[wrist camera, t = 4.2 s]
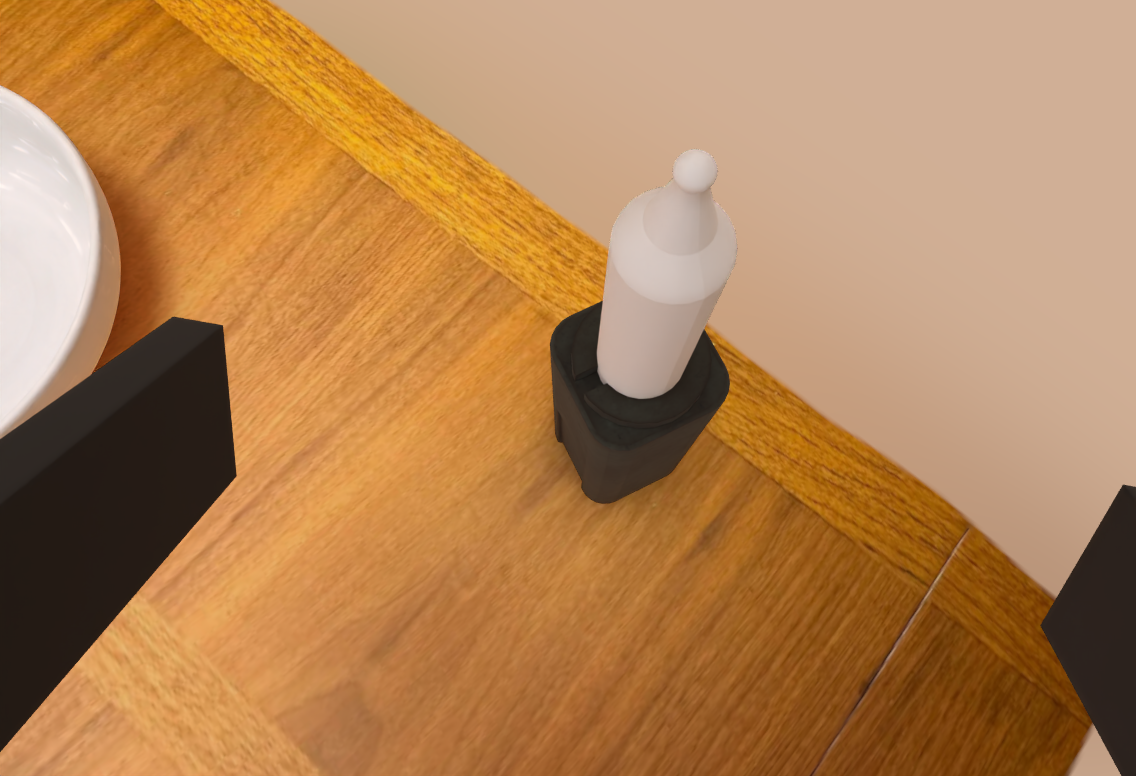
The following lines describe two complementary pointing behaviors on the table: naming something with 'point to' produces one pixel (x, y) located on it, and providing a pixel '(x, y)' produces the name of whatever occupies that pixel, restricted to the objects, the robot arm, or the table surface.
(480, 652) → the table surface
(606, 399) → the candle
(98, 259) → the serving bowl
